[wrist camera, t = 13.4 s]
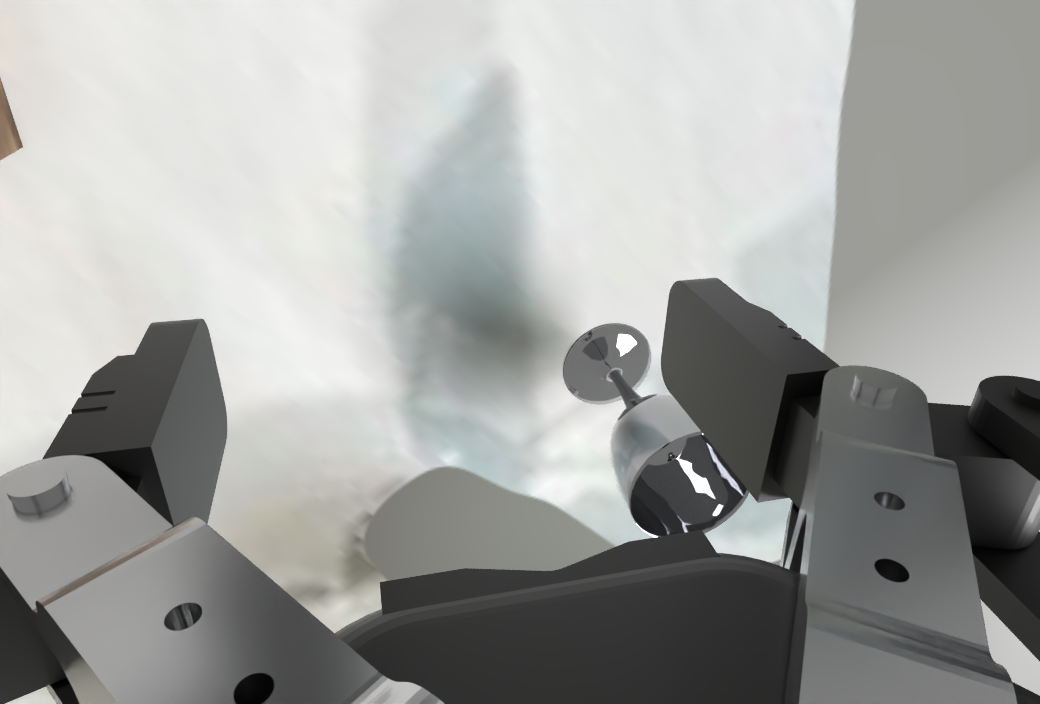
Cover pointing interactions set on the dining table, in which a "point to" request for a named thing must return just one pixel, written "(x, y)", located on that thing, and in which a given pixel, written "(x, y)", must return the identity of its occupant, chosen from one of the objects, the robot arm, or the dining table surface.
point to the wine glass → (652, 439)
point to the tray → (7, 128)
